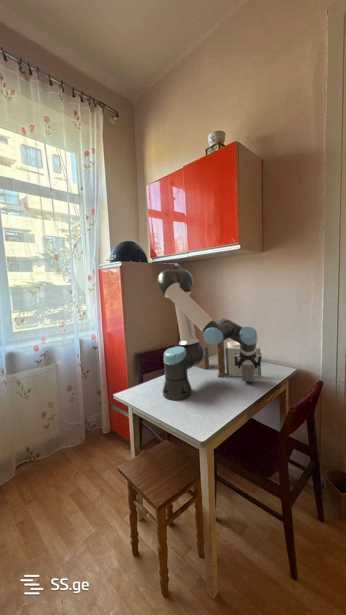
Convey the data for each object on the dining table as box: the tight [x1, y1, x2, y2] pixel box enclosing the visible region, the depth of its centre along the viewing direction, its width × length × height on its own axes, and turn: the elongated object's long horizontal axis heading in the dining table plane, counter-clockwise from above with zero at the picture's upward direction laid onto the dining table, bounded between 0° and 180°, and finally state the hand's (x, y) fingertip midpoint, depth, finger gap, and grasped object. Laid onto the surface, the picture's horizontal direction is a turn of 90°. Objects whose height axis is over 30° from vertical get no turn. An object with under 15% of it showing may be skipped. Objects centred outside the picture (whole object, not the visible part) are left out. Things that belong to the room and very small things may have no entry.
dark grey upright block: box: [241, 362, 255, 382], centre depth 136 cm, size 6×6×9 cm
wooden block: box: [194, 347, 210, 370], centre depth 165 cm, size 4×11×18 cm, turn 38°
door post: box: [216, 340, 228, 379], centre depth 147 cm, size 5×5×23 cm
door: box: [225, 347, 262, 377], centre depth 144 cm, size 19×2×16 cm, turn 77°
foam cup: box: [227, 340, 240, 348], centre depth 172 cm, size 10×9×13 cm
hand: (247, 369), depth 139 cm, fingers closed on dark grey upright block, 6 cm apart
